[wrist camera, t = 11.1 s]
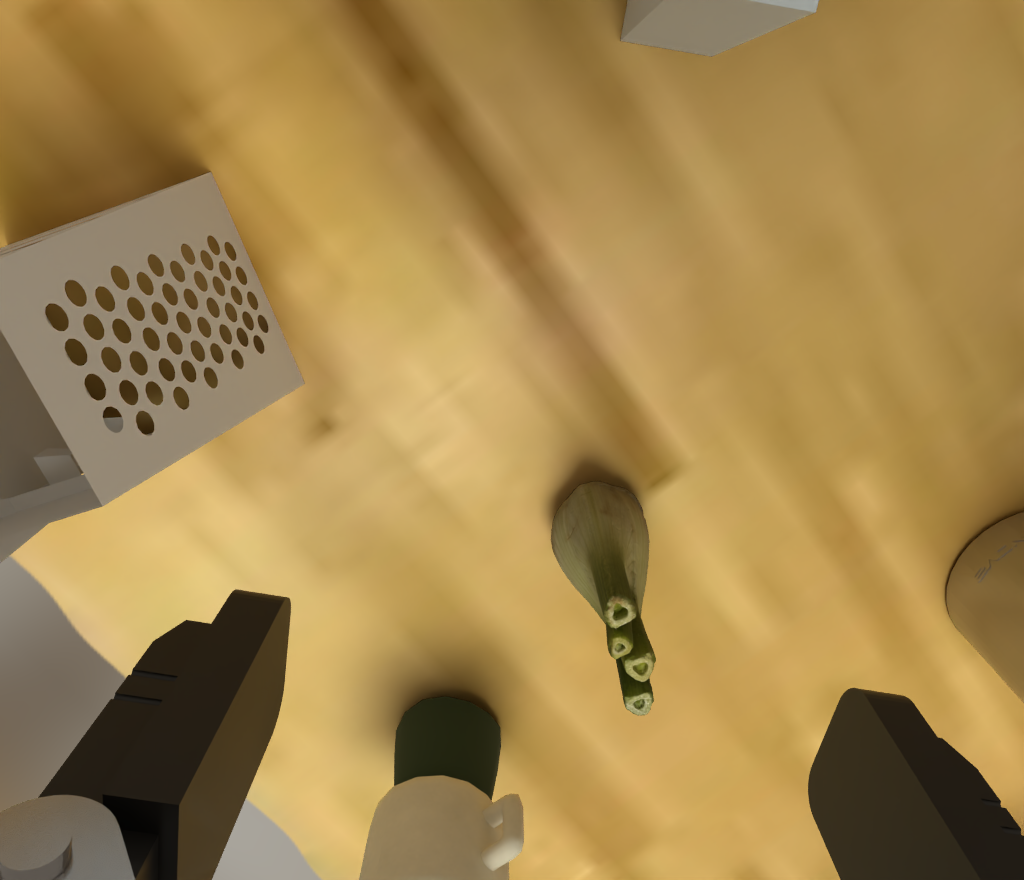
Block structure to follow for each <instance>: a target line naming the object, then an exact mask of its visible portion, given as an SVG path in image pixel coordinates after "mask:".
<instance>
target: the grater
mask: <svg viewBox="0 0 1024 880" xmlns="http://www.w3.org/2000/svg"><path fill="white" fill-rule="evenodd" d="M149 195H150V196H149ZM146 196H147V197H146ZM143 197H145V198H143ZM143 197H140V198H142V199H140V198H137V199H139V200H137V199H134V200H132V201H133V202H132V201H129V202H130V203H129V202H126V203H127V204H126V203H123V204H121V205H122V206H121V205H118V206H119V207H118V206H115V207H116V208H115V207H112V208H110V209H111V210H110V209H107V210H108V211H107V210H104V211H105V212H104V211H101V212H98V213H96V214H97V215H96V214H93V215H94V216H93V215H90V216H91V217H90V216H87V217H85V218H86V219H85V218H82V219H83V220H82V219H79V220H80V221H79V220H76V221H74V222H75V223H74V222H71V223H72V224H71V223H68V224H69V225H68V224H65V225H62V226H60V227H61V228H60V227H57V228H58V229H57V228H54V229H55V230H54V229H51V230H49V231H50V232H49V231H46V232H47V233H46V232H43V233H44V234H43V233H40V234H38V235H39V236H38V235H35V236H36V237H35V236H32V237H33V238H32V237H29V238H27V239H28V240H27V239H24V240H25V241H24V240H21V241H18V242H15V243H13V244H14V245H13V244H10V245H7V246H5V247H2V248H0V563H1V562H2V561H3V560H5V559H6V558H7V557H8V556H9V555H11V554H12V553H13V552H14V551H16V550H17V549H18V548H19V547H20V546H22V545H23V544H24V543H25V542H26V541H28V540H29V539H30V538H31V537H33V536H34V535H35V534H36V533H37V532H39V531H40V530H41V529H42V528H44V527H45V526H46V525H47V524H48V523H50V522H54V521H57V520H60V519H63V518H66V517H70V516H73V515H76V514H79V513H82V512H86V511H89V510H92V509H95V508H99V507H102V506H104V505H106V504H107V503H109V502H110V501H112V500H114V499H115V498H117V497H119V496H120V495H122V494H124V493H125V492H127V491H129V490H130V489H132V488H134V487H135V486H137V485H139V484H140V483H142V482H143V481H145V480H147V479H148V478H150V477H152V476H153V475H155V474H157V473H158V472H160V471H162V470H163V469H165V468H167V467H168V466H170V465H172V464H173V463H175V462H176V461H178V460H180V459H181V458H183V457H185V456H186V455H188V454H190V453H191V452H193V451H195V450H196V449H198V448H200V447H201V446H203V445H205V444H206V443H208V442H209V441H211V440H213V439H214V438H216V437H218V436H219V435H221V434H223V433H224V432H226V431H228V430H229V429H231V428H233V427H234V426H236V425H238V424H239V423H241V422H243V421H244V420H246V419H247V418H249V417H251V416H252V415H254V414H256V413H257V412H259V411H261V410H262V409H264V408H266V407H267V406H269V405H271V404H272V403H274V402H276V401H277V400H279V399H280V398H282V397H284V396H285V395H287V394H289V393H290V392H292V391H294V390H295V389H297V388H299V387H300V386H302V385H304V384H305V383H304V381H303V378H302V376H301V374H300V372H299V369H298V367H297V365H296V363H295V360H294V358H293V356H292V353H291V351H290V349H289V347H288V344H287V342H286V340H285V338H284V335H283V333H282V331H281V329H280V326H279V324H278V322H277V320H276V317H275V315H274V313H273V311H272V308H271V306H270V304H269V302H268V299H267V297H266V295H265V293H264V290H263V288H262V286H261V283H260V281H259V279H258V277H257V274H256V272H255V270H254V268H253V265H252V263H251V261H250V259H249V256H248V254H247V252H246V250H245V247H244V245H243V243H242V241H241V238H240V236H239V234H238V232H237V229H236V227H235V225H234V223H233V220H232V218H231V216H230V213H229V211H228V209H227V207H226V204H225V202H224V200H223V198H222V195H221V193H220V191H219V189H218V186H217V184H216V182H215V180H214V177H213V175H212V173H211V172H209V173H206V174H204V175H201V176H198V177H195V178H193V179H190V180H187V181H184V182H181V183H179V184H176V185H173V186H170V187H168V188H165V189H162V190H159V191H157V192H154V193H151V194H148V195H145V196H143ZM135 200H136V201H135ZM124 204H125V205H124ZM113 208H114V209H113ZM102 212H103V213H102ZM99 213H100V214H99ZM101 215H102V216H101ZM98 216H100V217H98ZM88 217H89V218H88ZM96 217H97V218H96ZM93 218H95V219H93ZM90 219H92V220H90ZM87 220H89V221H87ZM77 221H78V222H77ZM84 221H86V222H84ZM81 222H83V223H81ZM79 223H80V224H79ZM76 224H77V225H76ZM66 225H67V226H66ZM73 225H74V226H73ZM63 226H64V227H63ZM70 226H72V227H70ZM68 227H69V228H68ZM65 228H66V229H65ZM62 229H63V230H62ZM52 230H53V231H52ZM59 230H61V231H59ZM56 231H58V232H56ZM54 232H55V233H54ZM51 233H52V234H51ZM41 234H42V235H41ZM48 234H49V235H48ZM45 235H47V236H45ZM209 235H210V236H213V237H214V238H215V239H216V241H217V242H218V244H219V248H220V254H219V255H215V254H214V253H213V252H212V251H211V250H210V248H209V246H208V243H207V237H208V236H209ZM43 236H44V237H43ZM40 237H41V238H40ZM30 238H31V239H30ZM37 238H38V239H37ZM34 239H36V240H34ZM44 239H45V240H44ZM31 240H33V241H31ZM41 240H42V241H41ZM29 241H30V242H29ZM38 241H40V242H38ZM19 242H20V243H19ZM26 242H27V243H26ZM35 242H38V243H35ZM226 242H229V243H230V244H231V245H232V246H233V248H234V249H235V252H236V260H235V261H232V260H231V259H230V258H229V257H228V256H227V254H226V251H225V248H224V244H225V243H226ZM16 243H17V244H16ZM23 243H25V244H23ZM32 243H35V244H33V245H30V246H27V245H29V244H32ZM20 244H22V245H20ZM182 244H187V245H188V246H189V247H190V248H191V249H192V251H193V253H194V256H195V263H194V264H193V265H190V264H189V263H187V262H186V261H185V259H184V257H183V256H182V253H181V245H182ZM11 245H12V246H11ZM18 245H19V246H18ZM8 246H9V247H8ZM15 246H16V247H15ZM24 246H27V247H24ZM12 247H13V248H12ZM21 247H24V248H21ZM9 248H11V249H9ZM18 248H20V249H18ZM15 249H17V250H15ZM13 250H14V251H13ZM202 250H205V251H206V252H207V253H209V255H210V256H211V258H212V261H213V269H212V270H208V269H207V268H205V266H204V265H203V263H202V261H201V258H200V252H201V251H202ZM11 251H12V252H11ZM150 254H154V255H156V256H157V257H158V258H159V259H160V261H161V262H162V264H163V267H164V275H163V276H162V277H158V276H156V275H155V274H154V273H153V272H152V270H151V269H150V267H149V264H148V256H149V255H150ZM172 261H177V262H178V263H179V264H180V265H181V267H182V268H183V270H184V273H185V280H184V282H179V281H177V280H176V279H175V278H174V276H173V275H172V272H171V269H170V263H171V262H172ZM220 261H224V262H225V263H226V264H227V265H228V267H229V269H230V271H231V279H230V281H229V280H226V279H225V278H224V277H223V276H222V274H221V272H220V269H219V263H220ZM113 266H119V267H121V268H122V269H123V270H124V271H125V273H126V274H127V275H128V278H129V281H130V284H129V288H128V289H127V290H122V289H120V288H119V287H117V286H116V284H115V283H114V281H113V279H112V276H111V268H112V267H113ZM237 266H238V267H241V268H242V269H243V271H244V272H245V274H246V277H247V284H246V285H242V284H241V283H240V282H239V280H238V278H237V275H236V267H237ZM195 271H199V272H201V273H202V274H203V275H204V277H205V279H206V281H207V284H208V289H207V291H206V292H204V291H201V290H200V289H199V288H198V286H197V285H196V283H195V280H194V273H195ZM139 272H144V273H145V274H146V275H148V277H149V278H150V279H151V281H152V284H153V287H154V293H153V294H152V295H146V294H145V293H143V292H142V291H141V289H140V288H139V286H138V283H137V274H138V273H139ZM214 276H217V277H218V278H220V279H221V281H222V282H223V284H224V287H225V295H224V296H220V295H219V294H218V293H217V292H216V290H215V289H214V286H213V277H214ZM68 280H75V281H76V282H78V283H79V284H80V285H81V286H82V287H83V289H84V290H85V293H86V296H87V302H86V304H85V305H84V306H83V307H80V306H76V305H75V304H73V303H72V302H71V301H70V300H69V298H68V297H67V295H66V292H65V283H66V282H67V281H68ZM165 283H168V284H170V285H171V286H172V287H173V288H174V290H175V291H176V293H177V296H178V303H177V304H176V305H171V304H169V303H168V302H167V300H166V299H165V298H164V295H163V292H162V286H163V285H164V284H165ZM99 286H102V287H105V288H106V289H108V290H109V291H110V293H111V294H112V295H113V297H114V300H115V309H114V310H113V311H112V312H107V311H106V310H104V309H103V308H101V306H100V305H99V304H98V302H97V299H96V296H95V291H96V289H97V288H98V287H99ZM232 286H235V287H236V288H238V290H239V291H240V293H241V295H242V302H243V303H242V304H241V305H238V304H236V303H235V302H234V300H233V298H232V296H231V287H232ZM185 289H190V290H192V291H193V292H194V294H195V295H196V297H197V300H198V308H197V309H196V310H192V309H191V308H190V307H189V306H188V305H187V303H186V302H185V299H184V290H185ZM248 291H249V292H252V293H253V294H254V295H255V297H256V298H257V302H258V308H257V310H254V309H253V308H252V307H251V306H250V304H249V303H248V299H247V293H248ZM130 297H135V298H136V299H138V300H139V301H140V303H141V304H142V305H143V308H144V311H145V318H144V319H143V320H142V321H137V320H136V319H134V318H133V317H132V315H131V314H130V313H129V310H128V307H127V300H128V299H129V298H130ZM208 297H209V298H213V299H214V300H215V301H216V303H217V304H218V307H219V310H220V315H219V317H218V318H215V317H213V316H212V315H211V314H210V312H209V311H208V308H207V299H208ZM154 302H159V303H160V304H161V305H163V307H164V308H165V310H166V311H167V314H168V322H167V324H166V325H161V324H160V323H158V322H157V321H156V319H155V318H154V316H153V313H152V304H153V303H154ZM226 303H230V304H231V305H233V307H234V308H235V310H236V313H237V321H236V322H232V321H231V320H229V318H228V316H227V315H226V312H225V304H226ZM48 304H57V305H58V306H60V307H62V309H63V310H64V311H65V313H66V314H67V317H68V320H69V325H68V328H67V329H66V330H65V331H58V330H56V329H54V328H53V327H52V325H51V323H50V321H49V319H48V318H47V316H46V314H45V309H46V306H47V305H48ZM178 312H183V313H185V314H186V315H187V317H188V318H189V320H190V323H191V332H190V333H184V332H183V331H182V330H181V329H180V327H179V326H178V323H177V320H176V315H177V313H178ZM243 312H248V313H249V314H250V316H251V317H252V319H253V322H254V328H253V330H249V329H248V328H247V327H246V326H245V324H244V322H243V319H242V314H243ZM87 314H93V315H94V316H96V317H98V319H99V320H100V321H101V323H102V325H103V328H104V337H103V338H102V339H101V340H95V339H93V338H92V337H90V336H89V334H88V333H87V332H86V330H85V328H84V325H83V320H84V317H85V316H86V315H87ZM259 315H262V316H263V317H264V318H265V319H266V321H267V324H268V332H267V333H264V332H263V331H262V330H261V328H260V327H259V324H258V316H259ZM199 317H204V318H205V319H206V320H207V321H208V323H209V324H210V327H211V336H210V337H209V338H206V337H205V336H203V335H202V334H201V332H200V331H199V328H198V325H197V319H198V318H199ZM115 319H121V320H123V321H124V322H126V324H127V325H128V326H129V328H130V331H131V334H132V335H131V341H130V342H129V343H122V342H121V341H119V340H118V339H117V337H116V336H115V335H114V332H113V329H112V324H113V321H114V320H115ZM221 324H224V325H226V326H227V327H228V329H229V330H230V332H231V335H232V342H231V344H226V343H225V342H224V341H223V339H222V338H221V335H220V332H219V327H220V325H221ZM145 328H151V329H153V330H154V331H155V332H156V334H157V335H158V337H159V340H160V348H159V349H158V351H153V350H151V349H149V348H148V346H147V345H146V344H145V342H144V339H143V330H144V329H145ZM238 328H242V329H243V330H244V331H245V332H246V334H247V337H248V345H247V347H244V346H243V345H241V344H240V342H239V340H238V338H237V329H238ZM169 332H174V333H175V334H176V335H178V337H179V338H180V340H181V342H182V345H183V351H182V353H181V354H179V355H176V354H175V353H173V352H172V351H171V349H170V348H169V346H168V343H167V335H168V333H169ZM255 335H258V336H259V337H260V338H261V340H262V341H263V344H264V353H263V354H260V353H259V352H258V351H257V350H256V348H255V346H254V343H253V338H254V336H255ZM68 339H76V340H78V341H79V342H81V343H82V345H83V346H84V347H85V349H86V352H87V362H86V363H85V364H84V365H82V366H78V365H76V364H74V363H72V361H71V359H70V357H69V356H68V354H67V352H66V350H65V342H66V341H67V340H68ZM193 340H196V341H198V342H199V343H200V344H201V345H202V347H203V349H204V352H205V359H204V361H203V362H199V361H198V360H196V359H195V357H194V356H193V355H192V352H191V342H192V341H193ZM212 343H216V344H217V345H219V347H220V348H221V350H222V352H223V355H224V361H223V362H222V363H221V364H218V363H217V362H215V360H214V359H213V357H212V355H211V352H210V346H211V344H212ZM104 347H111V348H112V349H114V350H115V351H116V352H117V354H118V355H119V357H120V360H121V369H120V370H119V372H114V373H113V372H111V371H110V370H108V369H107V368H106V366H105V365H104V364H103V361H102V358H101V352H102V350H103V349H104ZM235 349H236V350H237V351H239V352H240V354H241V356H242V358H243V361H244V366H243V368H242V369H238V368H237V367H236V366H235V365H234V363H233V361H232V358H231V352H232V351H233V350H235ZM132 351H138V352H139V353H141V354H142V355H143V356H144V358H145V359H146V362H147V365H148V372H147V373H146V374H145V375H139V374H137V373H136V372H135V371H134V370H133V368H132V367H131V364H130V361H129V360H130V354H131V353H132ZM161 358H166V359H167V360H169V361H170V362H171V364H172V365H173V367H174V370H175V378H174V380H173V381H167V380H166V379H164V378H163V376H162V375H161V373H160V370H159V361H160V359H161ZM184 360H187V361H189V362H190V363H192V365H193V366H194V368H195V371H196V380H195V382H189V381H187V380H186V379H185V377H184V376H183V373H182V370H181V363H182V362H183V361H184ZM206 367H210V368H211V369H213V371H214V372H215V373H216V376H217V379H218V385H217V387H216V388H211V387H210V386H209V385H208V384H207V383H206V381H205V378H204V370H205V368H206ZM88 374H95V375H97V376H99V377H100V378H101V380H102V381H103V382H104V385H105V388H106V396H105V397H104V399H103V400H98V401H97V400H95V399H93V398H92V397H91V395H90V393H89V392H88V390H87V388H86V386H85V384H84V383H85V378H86V376H87V375H88ZM122 380H128V381H130V382H132V383H133V384H134V386H135V387H136V389H137V392H138V402H137V403H136V404H135V405H129V404H127V403H126V402H125V401H124V400H123V399H122V397H121V395H120V392H119V384H120V383H121V382H122ZM150 381H153V382H155V383H157V384H158V386H159V387H160V388H161V390H162V393H163V402H162V403H161V405H155V404H153V403H151V401H150V400H149V399H148V397H147V394H146V384H147V383H148V382H150ZM176 387H181V388H183V389H184V390H185V391H186V393H187V394H188V397H189V407H188V408H187V409H184V410H183V409H181V408H179V407H178V405H177V404H176V403H175V400H174V397H173V392H174V389H175V388H176ZM110 406H112V407H114V408H116V409H117V410H118V411H119V412H120V414H121V415H122V417H115V418H103V411H104V410H105V408H106V407H110ZM139 411H145V412H147V413H149V415H150V416H151V417H152V419H153V422H154V432H153V433H150V434H147V435H144V434H142V432H141V431H140V430H139V429H138V426H137V423H136V415H137V414H138V412H139ZM82 473H84V475H81V474H82Z"/></svg>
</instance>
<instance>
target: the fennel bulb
mask: <svg viewBox="0 0 1024 880" xmlns="http://www.w3.org/2000/svg"><path fill="white" fill-rule="evenodd" d="M551 543H552V549H553V552H554V555H555V557H556V559H557V561H558V563H559V565H560V567H561V569H562V570H563V572H564V573H565V575H566V576H567V578H568V579H569V580H570V582H571V583H572V584H573V585H574V587H575V588H576V589H577V590H578V591H579V592H580V594H581V595H582V596H583V597H584V598H585V599H586V600H587V601H588V602H589V603H590V605H591V606H592V607H593V608H594V610H595V611H596V612H597V613H598V615H599V616H600V617H601V619H602V620H603V621H604V623H605V624H606V631H607V645H608V650H609V653H610V655H611V656H612V657H613V658H614V659H616V663H617V668H618V673H619V678H620V684H621V689H622V694H623V700H624V704H625V707H626V709H627V710H630V711H631V712H632V713H633V714H636V715H638V716H639V715H646V714H648V712H649V711H650V707H651V705H652V703H653V702H654V699H653V692H652V687H651V684H650V679H649V677H650V675H651V673H652V671H653V668H654V663H655V661H656V658H655V655H654V651H653V649H652V646H651V644H650V641H649V639H648V637H647V634H646V631H645V628H644V625H643V622H642V620H641V608H642V602H643V596H644V591H645V585H646V578H647V569H648V560H649V534H648V529H647V524H646V520H645V518H644V516H643V510H642V507H641V505H640V503H639V502H638V500H637V498H636V497H635V496H634V495H633V494H632V493H631V492H629V491H628V490H626V489H624V488H622V487H617V486H611V485H609V484H608V483H604V482H600V481H594V482H590V483H586V484H581V485H579V486H578V487H577V488H576V489H575V490H574V491H573V493H572V494H571V495H570V496H569V498H568V499H567V500H565V501H564V503H563V504H562V505H561V506H560V508H559V509H558V511H557V513H556V515H555V517H554V520H553V525H552V532H551Z"/></svg>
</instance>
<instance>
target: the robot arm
mask: <svg viewBox="0 0 1024 880" xmlns="http://www.w3.org/2000/svg"><path fill="white" fill-rule="evenodd" d="M946 603H947V608H948V612H949V616H950V618H951V620H952V621H953V623H954V625H955V627H956V628H957V630H958V631H959V632H960V633H961V634H962V635H963V636H964V637H965V638H966V639H967V641H968V642H969V643H970V644H971V645H972V646H973V647H974V648H975V649H976V650H977V652H978V653H979V654H980V655H981V656H982V657H983V658H984V659H985V660H986V661H987V663H988V664H989V665H990V666H991V667H992V668H993V669H994V670H995V671H996V673H997V674H998V675H999V676H1000V677H1001V679H1002V680H1003V681H1004V682H1005V683H1006V684H1007V685H1008V686H1009V687H1010V688H1011V690H1012V691H1013V692H1014V693H1015V694H1016V695H1017V696H1018V697H1019V698H1020V699H1021V701H1022V702H1023V703H1024V512H1022V513H1018V514H1016V515H1014V516H1011V517H1009V518H1006V519H1004V520H1002V521H1000V522H998V523H997V524H995V525H994V526H992V527H990V528H989V529H987V530H986V531H984V532H983V533H982V534H981V535H980V536H978V537H977V538H976V539H975V540H974V541H973V542H972V543H970V545H969V546H968V547H967V548H966V550H965V551H964V552H963V553H962V555H961V556H960V557H959V559H958V560H957V562H956V564H955V566H954V568H953V570H952V572H951V575H950V578H949V582H948V585H947V598H946ZM290 613H291V602H290V599H289V598H287V597H281V596H274V595H268V594H262V593H255V592H249V591H243V590H234V591H233V592H232V593H231V594H230V596H229V597H228V599H227V600H226V602H225V604H224V605H223V607H222V608H221V610H220V611H219V613H218V614H217V616H216V618H215V619H214V621H213V622H212V624H209V623H202V622H196V621H189V620H186V621H184V622H183V623H181V624H179V625H178V626H176V627H175V628H173V629H172V630H170V631H169V632H167V633H165V634H164V635H162V636H161V637H159V638H158V639H156V640H155V641H153V642H152V644H151V645H150V646H149V648H148V649H147V651H146V652H145V653H144V655H143V656H142V657H141V659H140V660H139V661H138V663H137V664H136V666H135V667H134V668H133V671H132V674H131V675H128V676H127V678H126V679H125V681H124V682H123V683H122V685H121V686H120V687H119V689H118V690H117V691H116V693H115V697H114V699H111V700H110V701H109V702H108V704H107V705H106V707H105V708H104V709H103V711H102V712H101V713H100V715H99V716H98V717H97V719H96V720H95V721H94V723H93V724H92V725H91V727H90V728H89V730H88V731H87V732H86V734H85V735H84V737H83V738H82V739H81V741H80V742H79V743H78V745H77V746H76V747H75V749H74V750H73V751H72V753H71V754H70V756H69V757H68V758H67V760H66V761H65V762H64V764H63V765H62V766H61V768H60V769H59V770H58V772H57V773H56V775H55V776H54V777H53V779H52V780H51V781H50V783H49V784H48V785H47V787H46V788H45V790H44V791H43V792H42V793H41V794H40V796H39V797H38V798H36V799H32V800H28V801H25V802H22V803H20V804H17V805H14V806H12V807H10V808H8V809H6V810H4V811H2V812H0V880H212V878H213V875H214V873H215V870H216V868H217V866H218V863H219V861H220V858H221V856H222V854H223V851H224V849H225V846H226V844H227V842H228V839H229V837H230V834H231V832H232V830H233V827H234V825H235V823H236V820H237V818H238V815H239V813H240V811H241V808H242V806H243V803H244V801H245V799H246V796H247V794H248V791H249V789H250V787H251V784H252V782H253V779H254V777H255V775H256V772H257V770H258V767H259V765H260V763H261V760H262V758H263V755H264V753H265V751H266V748H267V746H268V743H269V741H270V739H271V736H272V734H273V731H274V728H275V725H276V722H277V719H278V715H279V711H280V707H281V702H282V697H283V691H284V682H285V671H286V659H287V648H288V636H289V625H290ZM808 795H809V803H810V808H811V812H812V814H813V817H814V820H815V822H816V824H817V826H818V829H819V831H820V833H821V836H822V838H823V840H824V842H825V845H826V847H827V849H828V852H829V854H830V856H831V858H832V861H833V863H834V865H835V868H836V870H837V872H838V874H839V877H840V879H841V880H1024V836H1022V835H1021V828H1020V827H1019V826H1018V824H1017V823H1016V822H1015V820H1014V819H1013V817H1012V816H1011V815H1010V813H1009V812H1008V811H1007V809H1006V808H1001V805H1000V803H1001V801H1000V800H999V798H998V797H997V796H996V794H995V793H994V791H993V790H992V789H991V787H990V786H989V785H988V783H987V782H986V781H985V779H984V778H983V776H982V775H981V774H980V772H979V771H978V770H977V768H976V767H974V766H973V765H972V764H971V763H970V762H969V761H968V760H966V759H965V758H964V757H963V756H962V755H961V754H960V753H958V752H957V751H956V750H955V749H954V748H953V747H952V746H950V745H949V744H948V743H947V742H946V741H945V740H944V739H942V738H938V737H937V736H936V734H935V733H934V732H933V730H932V729H931V727H930V726H929V725H928V723H927V722H926V720H925V719H924V717H923V716H922V715H921V713H920V712H919V710H918V709H917V708H916V706H915V705H914V703H913V702H912V701H911V700H910V699H909V698H907V697H905V696H901V695H895V694H889V693H882V692H876V691H870V690H863V689H857V688H850V689H848V690H847V691H846V692H844V694H843V695H842V696H841V698H840V700H839V703H838V705H837V707H836V710H835V712H834V715H833V717H832V719H831V722H830V724H829V726H828V729H827V731H826V734H825V736H824V738H823V741H822V743H821V746H820V748H819V750H818V753H817V755H816V757H815V760H814V762H813V765H812V767H811V771H810V775H809V783H808Z"/></svg>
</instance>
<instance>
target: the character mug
mask: <svg viewBox="0 0 1024 880" xmlns="http://www.w3.org/2000/svg"><path fill="white" fill-rule="evenodd" d="M500 748H501V736H500V727H499V725H498V724H497V723H496V722H495V720H494V719H493V718H492V717H491V715H490V714H489V713H487V712H486V711H484V710H482V709H481V708H479V707H477V706H476V705H474V704H472V703H471V702H468V701H464V700H459V699H455V698H451V697H439V698H432V699H425V700H422V701H420V702H419V703H418V704H416V705H415V706H413V707H412V708H410V709H409V710H408V711H406V712H405V714H404V716H403V718H402V720H401V722H400V724H399V726H398V728H397V730H396V741H395V760H394V786H393V787H392V789H391V790H390V791H389V792H388V793H387V794H386V795H385V796H384V797H383V798H382V799H381V800H380V801H379V803H378V805H377V808H376V810H375V813H374V817H373V820H372V823H371V827H370V830H369V834H368V839H367V844H366V849H365V853H364V858H363V863H362V868H361V873H360V878H359V880H509V861H510V860H512V859H514V858H515V857H516V856H517V855H518V854H519V853H520V852H521V851H522V847H523V843H524V828H523V806H522V803H521V800H520V798H519V795H518V794H509V795H505V796H504V797H502V798H500V799H499V800H497V801H496V802H494V803H493V802H492V801H491V800H492V795H493V791H494V786H495V781H496V776H497V771H498V764H499V756H500Z"/></svg>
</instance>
